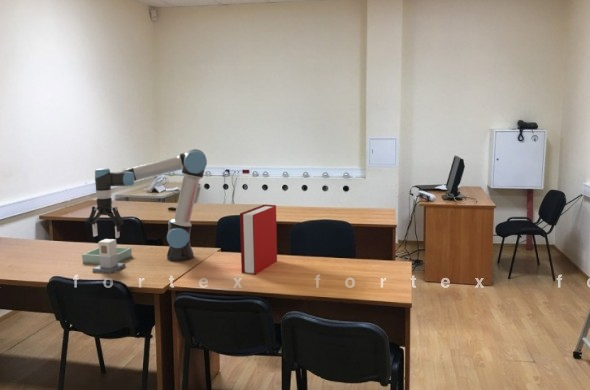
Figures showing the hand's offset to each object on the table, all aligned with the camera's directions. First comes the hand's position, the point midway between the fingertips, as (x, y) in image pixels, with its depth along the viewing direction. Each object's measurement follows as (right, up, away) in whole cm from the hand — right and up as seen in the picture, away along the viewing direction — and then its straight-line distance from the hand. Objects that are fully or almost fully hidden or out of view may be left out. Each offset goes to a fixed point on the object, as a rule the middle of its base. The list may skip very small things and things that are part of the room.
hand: (106, 236), depth 267 cm
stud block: (0, -18, +3) cm, 18 cm away
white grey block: (0, -16, +3) cm, 16 cm away
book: (+82, -17, +5) cm, 84 cm away
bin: (-7, -15, +21) cm, 27 cm away
